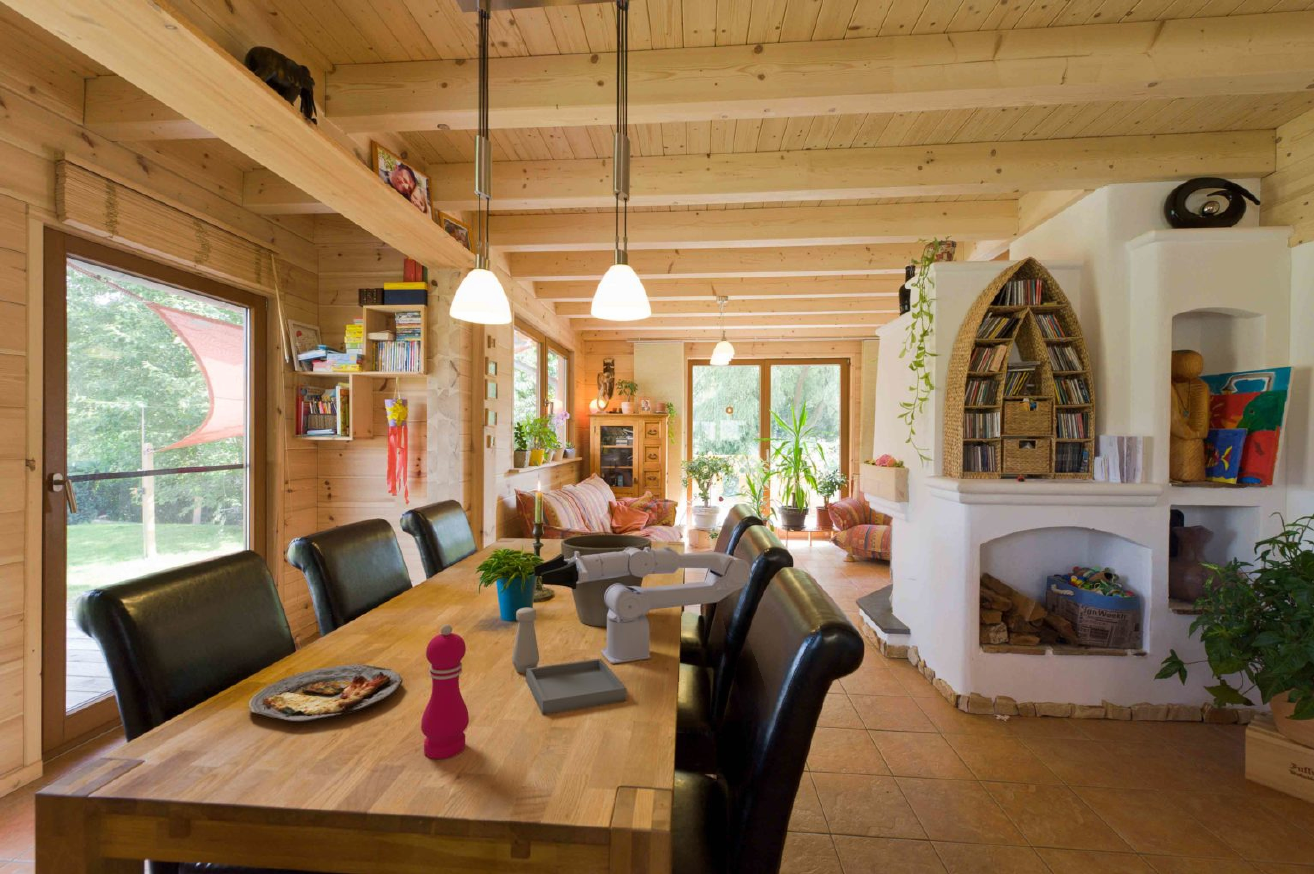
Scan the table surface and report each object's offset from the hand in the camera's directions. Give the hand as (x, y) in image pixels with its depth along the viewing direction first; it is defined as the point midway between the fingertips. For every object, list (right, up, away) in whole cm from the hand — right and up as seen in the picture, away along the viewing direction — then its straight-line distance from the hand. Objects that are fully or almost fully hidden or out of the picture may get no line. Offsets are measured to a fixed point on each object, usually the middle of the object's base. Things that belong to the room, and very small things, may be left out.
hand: (537, 574), depth 130 cm
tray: (+9, -20, -11) cm, 25 cm away
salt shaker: (-2, -20, -1) cm, 21 cm away
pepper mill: (-8, -20, -34) cm, 40 cm away
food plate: (-36, -20, -16) cm, 44 cm away
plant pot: (+12, -20, +36) cm, 43 cm away
